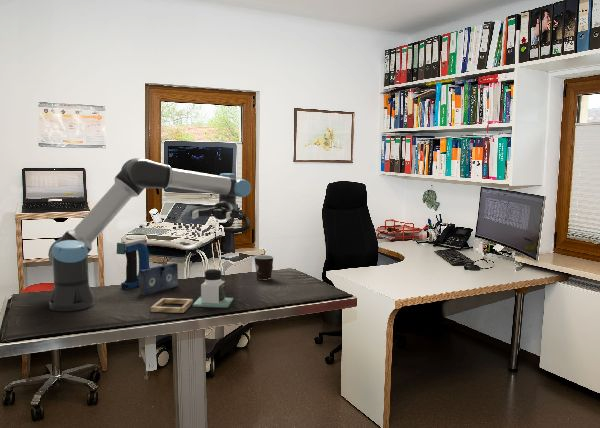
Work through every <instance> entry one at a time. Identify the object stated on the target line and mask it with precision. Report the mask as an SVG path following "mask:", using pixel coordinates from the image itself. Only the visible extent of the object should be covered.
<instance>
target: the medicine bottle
mask: <svg viewBox="0 0 600 428" xmlns="http://www.w3.org/2000/svg"><path fill="white" fill-rule="evenodd" d="M200 297H201V303H211V304H220V303H221V302H222V301H223V300H224V299H225V298H226V281H225V280H222V270H220V269H218V268H210V269H206V270H205V272H204V282H203V283H202V284H200Z"/></svg>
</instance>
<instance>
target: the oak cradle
mask: <svg viewBox="0 0 600 428" xmlns="http://www.w3.org/2000/svg"><path fill="white" fill-rule="evenodd" d="M164 304H175V305H177V304H178V305H179V304H180V305H182V306H181V307H180V306H163V305H164ZM193 304H194V299H193V298H174V297H171V298H169V297H168V298H166V297H162V298H161V299H159V300H157V302H155V303H154V304H153V305H152V306H150V312H151V313H155V312H156V313H173V314H175V313H177V314H179V313H180V314H181V313H182V314H183V313H185V312H186V311H187V310H188V309H189V308H190V307H191V306H193Z"/></svg>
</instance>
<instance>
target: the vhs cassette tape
mask: <svg viewBox="0 0 600 428" xmlns="http://www.w3.org/2000/svg"><path fill="white" fill-rule="evenodd" d="M178 271H179V268H178V263H176V262H173V263H168V264H163V265H158V266H153V267H149V269H143V270H139V269H138V273H139V285H140V286H139V295H141V296H146V295H150V294H155V293H158V292H161V291H165V290H170V289H172V288H176V287H178V286H179V282H178V281H179V272H178Z"/></svg>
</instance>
